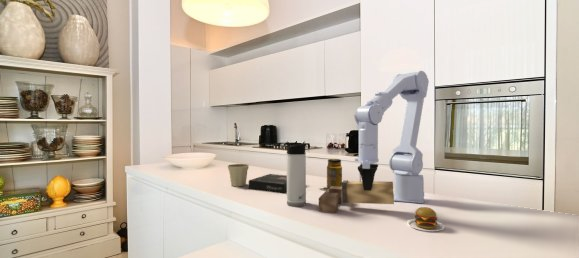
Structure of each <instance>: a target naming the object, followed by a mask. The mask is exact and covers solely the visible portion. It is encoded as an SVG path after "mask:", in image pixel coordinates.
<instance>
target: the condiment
mask: <svg viewBox="0 0 579 258" xmlns="http://www.w3.org/2000/svg"><path fill="white" fill-rule="evenodd" d="M342 182H343V167H342V160H341V159H340V158H329V159H328V160H327V166H326V186H325V187H324V186H323V187H322V188H321V187H319V190H322V191H324V192H325V191H326V190H327V189H329V188H330V187H331V186H338V187H342Z"/></svg>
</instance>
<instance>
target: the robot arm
mask: <svg viewBox="0 0 579 258" xmlns="http://www.w3.org/2000/svg"><path fill="white" fill-rule="evenodd" d="M429 83H430V82H429V78H428V75H427V74H426V72H425V71H423V70H419V71H413V72H407V73H398V74H396V75H395V76H394V77H393V78H392V82H391V84H390V85H389V86H388V87H387V88H386V89H385V90H384V91H377V92H376V93H375V94H374V97H372V98H371V99H370V100H367V102H366V104H364V105H361V106H358V108H357V109H356V110H355V114H354V115H353V116H354V121H355V122H356V127H357V130H358V157H356V158H354V161H355V162H358V163H360V164H359V166H357V170H358V172H359V175H360V178H361V181H362V183H363V188H364V190H368V191H371V189H372V185H373V182H375V175H376V173H377V170H378V167H379V164H377V163H379V147H378V146H379V124H380V123H381V122H382V121H383V117H384V115H385V112H386V111H387V110H388V109H389V108H390V107H391V106H392V105H393V100H394V99H395V97H397V96H398V95H400V97H401V98H402V99H403V100H405V101H406V102H407V103H406V108H405V114H404V118H403V119H404V120H403V125H402V131H401V137H400V144H398V146H396V147H395V148H393V149H392V154H391V155H390V157H389V160H388V166H389V169H390V170H391V171H392V174H394V190H393V192H394V202H402V203H403V202H404V203H405V202H406V203H417V204H418V203H419V204H424V197H425V191H424V190H425V189H424V188H425V187H424V184H425V183H424V175H423V174H420V173H421V172H422V170H423V166H424V162H423V155H424V154H423V152H422V151H421V150H420V148H419V149H418V147H417V143H418V137H419V132H420V125H421V120H422V113H423V108H424V107H423V106H424V100H425V98H426V97H427V93H428V89H429V88H428V87H429Z"/></svg>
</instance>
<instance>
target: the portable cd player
mask: <svg viewBox="0 0 579 258" xmlns="http://www.w3.org/2000/svg"><path fill="white" fill-rule="evenodd" d="M248 190H252V191H253V190H254V191H261V192H267V193H269V192H271V193H276V194H277V193H278V194H287V174H286V175H284V174H274V173H269V174H265V175H261V176H259V177H256V178H252V179H249V180H248Z"/></svg>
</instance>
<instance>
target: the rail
mask: <svg viewBox="0 0 579 258" xmlns="http://www.w3.org/2000/svg"><path fill="white" fill-rule="evenodd" d="M342 195H343V203H345V204H375V205H377V204H378V205H381V204H382V205H395V201H394V182H393V181H373V185H372V189H371V191H368V190H364V188H363V183H362V180H361V181H359V180H358V181H351V180H348V179H347V180H345V179H344V180H342ZM343 203H342V204H343Z"/></svg>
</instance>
